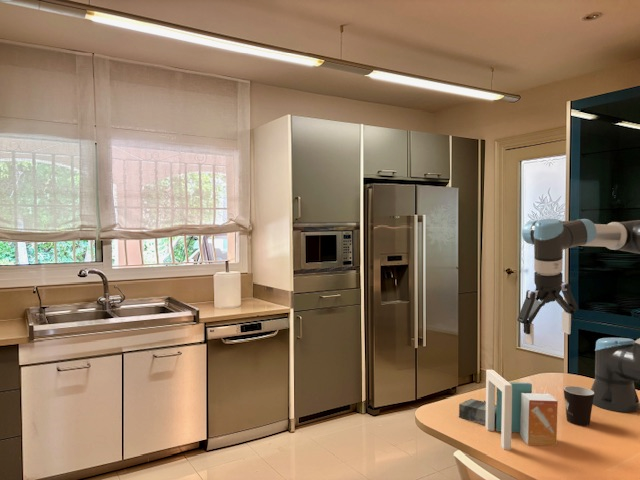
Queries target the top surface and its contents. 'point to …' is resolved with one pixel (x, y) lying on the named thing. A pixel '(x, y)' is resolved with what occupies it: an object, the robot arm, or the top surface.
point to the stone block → (474, 411)
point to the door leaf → (516, 405)
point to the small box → (538, 419)
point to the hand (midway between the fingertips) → (548, 337)
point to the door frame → (506, 388)
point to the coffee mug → (578, 405)
